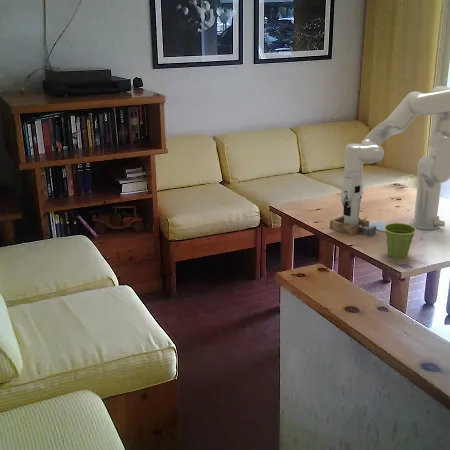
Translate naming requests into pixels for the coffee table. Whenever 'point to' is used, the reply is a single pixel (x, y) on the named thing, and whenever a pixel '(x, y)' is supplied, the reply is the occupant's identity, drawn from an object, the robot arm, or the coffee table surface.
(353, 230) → the wooden tray
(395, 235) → the plant pot
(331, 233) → the coffee table surface
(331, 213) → the coffee table surface
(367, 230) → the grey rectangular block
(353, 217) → the travel mug
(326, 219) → the coffee table surface
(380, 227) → the pad
